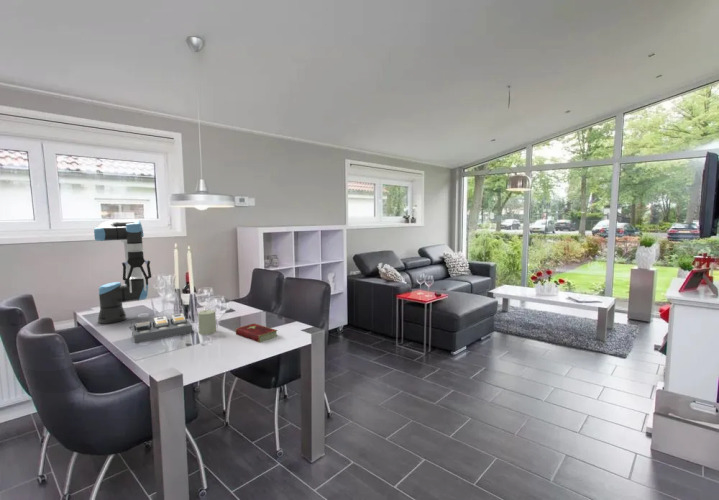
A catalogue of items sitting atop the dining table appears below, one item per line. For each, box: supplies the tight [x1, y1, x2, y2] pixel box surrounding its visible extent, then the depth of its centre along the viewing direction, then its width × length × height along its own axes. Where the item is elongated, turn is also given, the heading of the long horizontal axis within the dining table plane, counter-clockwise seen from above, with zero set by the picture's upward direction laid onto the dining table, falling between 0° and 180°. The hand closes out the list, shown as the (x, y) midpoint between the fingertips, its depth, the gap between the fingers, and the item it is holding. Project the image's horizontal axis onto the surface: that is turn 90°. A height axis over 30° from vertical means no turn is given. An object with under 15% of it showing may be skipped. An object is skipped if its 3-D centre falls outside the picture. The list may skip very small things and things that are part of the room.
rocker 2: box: [170, 313, 187, 324], centre depth 214 cm, size 8×6×2 cm
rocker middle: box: [153, 316, 168, 327], centre depth 209 cm, size 8×6×2 cm
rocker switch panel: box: [130, 315, 193, 344], centre depth 207 cm, size 16×28×7 cm, turn 126°
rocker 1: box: [135, 321, 151, 327], centre depth 203 cm, size 8×6×2 cm
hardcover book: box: [235, 322, 278, 343], centre depth 202 cm, size 12×21×4 cm, turn 51°
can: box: [197, 309, 217, 336], centre depth 209 cm, size 9×9×12 cm
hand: (138, 291), depth 210 cm, fingers open, 6 cm apart
